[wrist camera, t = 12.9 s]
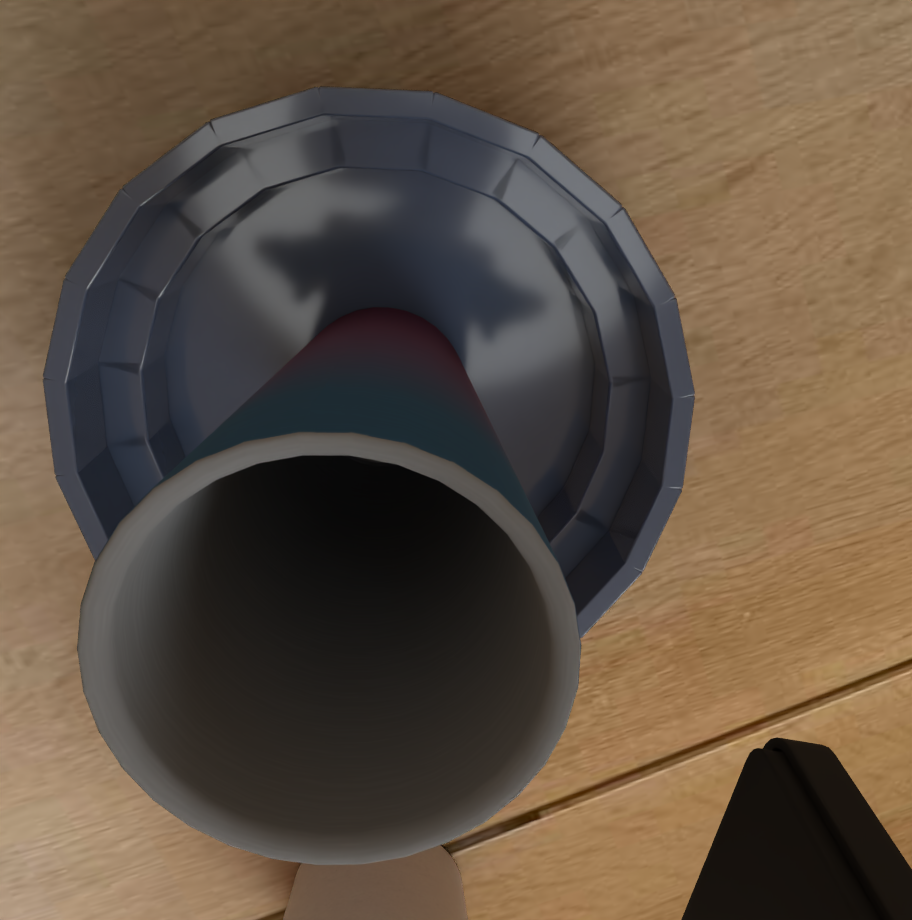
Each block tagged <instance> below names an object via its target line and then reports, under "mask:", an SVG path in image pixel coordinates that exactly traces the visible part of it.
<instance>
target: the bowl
mask: <svg viewBox="0 0 912 920" xmlns="http://www.w3.org/2000/svg"><path fill="white" fill-rule="evenodd" d="M372 307H390V308H395V309H400V310H404V311H408V312H410V313H413V314H415V315H417V316H420V317H422V318H424V319H425V320H426V321H428V322H429V323H431V324H432V325H434V326H435V327H437V328H438V330H439V331H440V332H441V333H442V334H443V335H444V336H445V337H446V338H447V339H448V340H449V342H450V343H451V345H452V346H453V348H454V349H455V351H456V352H457V354H458V356H459V358H460V360H461V362H462V365H463V367H464V369H465V371H466V373H467V375H468V377H469V379H470V381H471V383H472V385H473V387H474V389H475V391H476V393H477V395H478V397H479V399H480V402H481V404H482V406H483V408H484V410H485V412H486V414H487V416H488V418H489V420H490V422H491V424H492V426H493V428H494V430H495V432H496V434H497V436H498V439H499V441H500V443H501V445H502V447H503V449H504V451H505V453H506V455H507V457H508V459H509V461H510V463H511V465H512V467H513V469H514V471H515V473H516V476H517V478H518V480H519V482H520V484H521V486H522V488H523V490H524V492H525V494H526V496H527V498H528V500H529V502H530V504H531V506H532V508H533V510H534V513H535V515H536V517H537V519H538V521H539V523H540V525H541V527H542V529H543V531H544V533H545V535H546V537H547V539H548V541H549V543H550V545H551V547H552V550H553V552H554V554H555V556H556V558H557V560H558V562H559V564H560V567H561V570H562V572H563V575H564V577H565V580H566V582H567V585H568V587H569V590H570V592H571V595H572V598H573V600H574V603H575V608H576V615H577V622H578V628H579V635H580V638H582V637H583V636H584V635H585V634H586V633H587V632H588V631H589V630H590V629H591V628H592V627H593V626H594V624H595V623H596V622H597V621H598V620H599V619H600V618H601V617H602V616H603V615H604V614H605V613H606V612H607V610H608V609H609V608H610V607H611V606H612V605H613V604H614V603H615V602H616V601H617V600H618V599H619V598H620V597H621V595H622V594H623V593H624V592H625V591H626V590H627V589H628V588H629V587H630V586H631V585H632V584H633V583H634V582H635V580H636V579H637V578H638V577H639V576H640V575H641V574H642V572H643V571H644V569H645V567H646V565H647V562H648V560H649V558H650V556H651V554H652V552H653V550H654V548H655V546H656V544H657V542H658V540H659V538H660V535H661V533H662V531H663V529H664V527H665V525H666V523H667V521H668V519H669V517H670V515H671V513H672V510H673V508H674V506H675V504H676V502H677V500H678V498H679V496H680V494H681V492H682V488H683V482H684V475H685V467H686V460H687V452H688V445H689V437H690V430H691V422H692V415H693V407H694V400H695V396H694V394H695V391H694V386H693V380H692V375H691V370H690V365H689V360H688V355H687V350H686V345H685V339H684V334H683V329H682V324H681V319H680V314H679V309H678V304H677V299H676V298H675V294H674V292H673V291H672V289H671V287H670V285H669V284H668V282H667V280H666V279H665V277H664V275H663V273H662V272H661V270H660V268H659V266H658V265H657V263H656V261H655V260H654V258H653V256H652V254H651V253H650V251H649V249H648V247H647V246H646V244H645V242H644V240H643V239H642V237H641V235H640V234H639V232H638V230H637V228H636V227H635V225H634V223H633V221H632V220H631V218H630V216H629V215H628V213H627V211H626V209H625V208H624V207H622V205H621V203H620V202H619V201H617V200H616V199H615V198H614V197H613V196H612V195H610V194H609V193H608V192H607V191H606V190H605V189H603V188H602V187H601V186H600V185H599V184H598V183H597V182H595V181H594V180H593V179H592V178H591V177H590V176H588V175H587V174H586V173H585V172H584V171H583V170H582V169H580V168H579V167H578V166H577V165H576V164H575V163H573V162H572V161H571V160H570V159H569V158H568V157H567V156H565V155H564V154H563V153H562V152H561V151H560V150H558V149H557V148H556V147H555V146H554V145H553V144H552V143H550V142H549V141H548V140H547V139H546V138H545V137H543V136H542V135H539V134H538V133H537V132H535V131H533V130H530V129H528V128H525V127H523V126H520V125H518V124H515V123H513V122H510V121H508V120H505V119H503V118H500V117H498V116H495V115H493V114H490V113H488V112H485V111H482V110H480V109H477V108H475V107H472V106H470V105H467V104H465V103H462V102H460V101H457V100H455V99H452V98H450V97H447V96H445V95H442V94H440V93H437V92H434V93H433V92H432V91H421V90H398V89H374V88H351V87H328V86H320V87H314V88H310V89H307V90H304V91H301V92H297V93H294V94H291V95H288V96H285V97H281V98H278V99H275V100H272V101H268V102H265V103H262V104H259V105H256V106H252V107H249V108H246V109H243V110H239V111H236V112H233V113H230V114H227V115H223V116H220V117H217V118H214V119H211V120H210V122H206V123H205V124H203V125H202V126H201V127H199V128H198V129H197V130H195V131H194V132H193V133H191V134H190V135H189V136H188V137H186V138H185V139H184V140H182V141H181V142H180V143H178V144H177V145H176V146H174V147H173V148H172V149H171V150H169V151H168V152H167V153H165V154H164V155H163V156H161V157H160V158H159V159H157V160H156V161H155V162H153V163H152V164H151V165H150V166H148V167H147V168H146V169H144V170H143V171H142V172H140V173H139V174H138V175H136V176H135V177H134V178H132V179H131V180H130V181H129V182H127V183H126V184H125V185H123V187H122V188H121V189H120V190H119V191H118V193H117V194H116V196H115V198H114V199H113V201H112V202H111V204H110V205H109V207H108V209H107V210H106V212H105V213H104V215H103V216H102V218H101V220H100V221H99V223H98V224H97V226H96V228H95V229H94V231H93V232H92V234H91V235H90V237H89V239H88V240H87V242H86V243H85V245H84V247H83V248H82V250H81V251H80V253H79V254H78V256H77V258H76V259H75V261H74V262H73V264H72V265H71V267H70V269H69V270H68V272H67V273H66V275H65V279H64V280H63V285H62V289H61V294H60V299H59V303H58V308H57V313H56V317H55V322H54V326H53V331H52V336H51V340H50V345H49V350H48V354H47V359H46V363H45V368H44V373H43V377H44V379H43V384H44V392H45V400H46V408H47V416H48V424H49V432H50V440H51V448H52V456H53V464H54V472H55V475H56V480H57V482H58V484H59V486H60V488H61V490H62V492H63V494H64V497H65V499H66V501H67V503H68V505H69V507H70V509H71V511H72V513H73V515H74V518H75V520H76V522H77V524H78V526H79V528H80V530H81V532H82V534H83V536H84V539H85V541H86V543H87V545H88V547H89V549H90V551H91V553H92V555H93V557H94V560H95V561H96V559H97V557H98V556H99V554H100V552H101V551H102V549H103V548H104V546H105V544H106V543H107V541H108V539H109V538H110V536H111V535H112V533H113V531H114V530H115V528H116V526H117V525H118V523H119V522H120V521H121V520H122V519H123V518H124V517H125V516H126V515H127V514H128V513H129V512H130V511H131V510H132V509H133V508H134V507H135V505H136V504H137V503H138V502H139V501H140V500H141V499H142V498H143V497H144V496H145V495H146V494H147V493H148V492H149V491H150V490H151V489H152V488H153V487H154V486H155V485H156V484H157V483H159V482H160V481H161V480H162V479H163V478H164V477H165V476H166V475H167V474H168V473H169V472H170V471H172V470H173V469H174V468H175V467H176V466H177V465H178V464H179V463H180V462H181V461H182V460H183V459H184V458H186V457H187V456H188V455H189V454H190V453H191V452H192V451H193V450H194V449H195V448H196V447H197V446H198V445H200V444H201V443H202V442H203V441H204V440H205V439H206V438H207V437H208V436H209V435H210V434H211V433H212V432H214V431H215V430H216V429H217V428H218V427H219V426H220V425H221V424H222V423H223V422H224V421H225V420H226V419H228V418H229V417H230V416H231V415H232V414H233V413H234V412H235V411H236V410H237V409H238V408H239V407H240V406H242V405H243V404H244V403H245V402H246V401H247V400H248V399H249V398H250V397H251V396H252V395H253V394H254V393H256V392H257V391H258V390H259V389H260V388H261V387H262V386H263V385H264V384H265V383H266V382H267V381H268V380H270V379H271V378H272V377H273V376H274V375H275V374H276V373H277V372H278V371H279V370H280V369H281V368H282V367H284V366H285V365H286V364H287V363H288V362H289V361H290V360H291V359H292V358H293V357H294V356H295V355H296V354H298V353H299V352H300V351H301V350H302V349H303V348H304V347H305V346H306V345H307V344H308V343H309V342H310V341H312V340H313V339H314V338H315V337H316V336H317V335H318V334H319V333H320V332H321V331H322V330H323V329H324V328H326V327H327V326H328V325H329V324H331V323H332V322H334V321H335V320H337V319H338V318H340V317H342V316H344V315H346V314H349V313H351V312H354V311H356V310H361V309H367V308H372Z"/></svg>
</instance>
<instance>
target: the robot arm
mask: <svg viewBox="0 0 912 920" xmlns="http://www.w3.org/2000/svg"><path fill="white" fill-rule="evenodd" d="M682 920H912V869H911V868H910V866H909V865H908V863H907V862H906V860H905V859H904V857H903V856H902V854H901V853H900V851H899V850H898V848H897V847H896V845H895V844H894V842H893V841H892V839H891V838H890V836H889V835H888V833H887V832H886V830H885V829H884V827H883V826H882V824H881V823H880V821H879V820H878V818H877V817H876V815H875V814H874V812H873V811H872V809H871V808H870V806H869V805H868V803H867V802H866V800H865V799H864V797H863V796H862V794H861V793H860V791H859V790H858V788H857V787H856V785H855V784H854V782H853V781H852V779H851V778H850V776H849V775H848V773H847V772H846V770H845V769H844V767H843V766H842V764H841V763H840V761H839V760H838V758H837V757H836V755H835V754H834V753H833V752H832V751H831V749H830V748H829V747H826V746H824V745H820V744H814V743H807V742H801V741H795V740H789V739H783V738H773V739H770V740H769V741H768V742H767V743H766V744H765V746H764V748H763V749H760V748H757V749H754V750H753V751H752V752H751V753H750V754H749V756H748V758H747V760H746V762H745V765H744V767H743V770H742V772H741V774H740V777H739V779H738V782H737V784H736V787H735V789H734V792H733V794H732V797H731V799H730V802H729V804H728V806H727V809H726V811H725V814H724V816H723V819H722V821H721V824H720V826H719V829H718V831H717V834H716V836H715V838H714V841H713V843H712V846H711V848H710V851H709V853H708V856H707V858H706V861H705V863H704V866H703V868H702V870H701V873H700V875H699V878H698V880H697V883H696V885H695V888H694V890H693V893H692V895H691V898H690V900H689V903H688V905H687V907H686V910H685V912H684V915H683V917H682Z"/></svg>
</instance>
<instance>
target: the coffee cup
mask: <svg viewBox="0 0 912 920" xmlns="http://www.w3.org/2000/svg"><path fill="white" fill-rule="evenodd" d="M283 920H468V917H467V910H466V904H465V898H464V891H463V885H462V879H461V875H460V872H459V869H458V867H457V865H456V863H455V862H454V860H453V858H452V857H451V856H450V854H449V853H448V852H447V851H446V850H445V849H444V848H443V847H442V846H441V845H439V846H436V847H433V848H430V849H427V850H424V851H421V852H419V853H416V854H413V855H410V856H407V857H402V858H396V859H391V860H385V861H379V862H373V863H367V864H356V865H313V864H306V863H301V865H300V866H299V869H298V871H297V874H296V877H295V880H294V883H293V887H292V890H291V894H290V897H289V901H288V904H287V908H286V911H285V915H284V918H283Z"/></svg>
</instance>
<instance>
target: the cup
mask: <svg viewBox="0 0 912 920" xmlns="http://www.w3.org/2000/svg"><path fill="white" fill-rule="evenodd" d="M77 651H78V658H79V665H80V672H81V678H82V685H83V692H84V694H85V697H86V699H87V702H88V705H89V707H90V710H91V712H92V715H93V718H94V720H95V723H96V725H97V728H98V731H99V733H100V734H101V736H102V737H103V739H104V740H105V742H106V743H107V745H108V747H109V748H110V750H111V751H112V753H113V754H114V756H115V757H116V759H117V760H118V762H119V763H120V765H121V767H122V768H123V769H124V770H125V771H126V772H127V773H128V774H129V775H130V776H131V778H132V779H133V780H134V781H135V782H136V783H137V784H138V785H139V786H140V787H141V788H142V789H143V790H144V791H145V792H146V793H147V794H148V795H149V796H150V797H151V798H152V799H153V800H154V801H155V802H157V803H158V804H159V805H161V806H162V807H164V808H165V809H166V810H168V811H169V812H170V813H172V814H173V815H175V816H176V817H177V818H179V819H180V820H182V821H183V822H184V823H186V824H187V825H189V826H190V827H192V828H194V829H196V830H198V831H200V832H202V833H205V834H207V835H209V836H211V837H213V838H215V839H217V840H219V841H221V842H223V843H225V844H227V845H229V846H232V847H235V848H239V849H242V850H245V851H249V852H252V853H255V854H258V855H262V856H265V857H268V858H272V859H278V860H285V861H292V862H299V863H306V864H313V865H356V864H367V863H373V862H379V861H385V860H391V859H396V858H402V857H407V856H410V855H413V854H416V853H419V852H421V851H424V850H427V849H430V848H433V847H436V846H439V845H442V844H445V843H447V842H449V841H451V840H453V839H455V838H457V837H459V836H460V835H462V834H464V833H466V832H468V831H470V830H472V829H473V828H475V827H477V826H479V825H481V824H483V823H485V822H486V821H487V820H488V819H490V818H491V817H492V816H493V815H495V814H496V813H497V812H498V811H500V810H501V809H502V808H503V807H505V806H506V805H507V804H508V803H510V802H511V801H512V800H514V799H515V798H516V797H517V796H518V795H519V794H520V793H521V792H522V791H523V790H524V788H525V787H526V786H527V785H528V784H529V783H530V781H531V780H532V779H533V778H534V777H535V776H536V775H537V773H538V772H539V771H540V770H541V769H542V768H543V766H544V765H545V764H546V762H547V760H548V759H549V757H550V755H551V753H552V751H553V750H554V748H555V746H556V744H557V742H558V741H559V739H560V737H561V735H562V734H563V732H564V730H565V728H566V725H567V722H568V719H569V715H570V712H571V709H572V706H573V702H574V699H575V696H576V692H577V689H578V681H579V668H580V655H581V641H580V635H579V628H578V622H577V615H576V608H575V603H574V600H573V598H572V595H571V592H570V590H569V587H568V585H567V582H566V580H565V577H564V575H563V572H562V570H561V567H560V564H559V562H558V560H557V558H556V556H555V554H554V552H553V550H552V547H551V545H550V543H549V541H548V539H547V537H546V535H545V533H544V531H543V529H542V527H541V525H540V523H539V521H538V519H537V517H536V515H535V513H534V510H533V508H532V506H531V504H530V502H529V500H528V498H527V496H526V494H525V492H524V490H523V488H522V486H521V484H520V482H519V480H518V478H517V476H516V473H515V471H514V469H513V467H512V465H511V463H510V461H509V459H508V457H507V455H506V453H505V451H504V449H503V447H502V445H501V443H500V441H499V439H498V436H497V434H496V432H495V430H494V428H493V426H492V424H491V422H490V420H489V418H488V416H487V414H486V412H485V410H484V408H483V406H482V404H481V402H480V399H479V397H478V395H477V393H476V391H475V389H474V387H473V385H472V383H471V381H470V379H469V377H468V375H467V373H466V371H465V369H464V367H463V365H462V362H461V360H460V358H459V356H458V354H457V352H456V351H455V349H454V348H453V346H452V345H451V343H450V342H449V340H448V339H447V338H446V337H445V336H444V335H443V334H442V333H441V332H440V331H439V330H438V328H437V327H435V326H434V325H432V324H431V323H429V322H428V321H426V320H425V319H424V318H422V317H420V316H417V315H415V314H413V313H410V312H408V311H404V310H400V309H395V308H390V307H372V308H367V309H361V310H356V311H354V312H351V313H349V314H346V315H344V316H342V317H340V318H338V319H337V320H335V321H334V322H332V323H331V324H329V325H328V326H327V327H326V328H324V329H323V330H322V331H321V332H320V333H319V334H318V335H317V336H316V337H315V338H314V339H313V340H312V341H310V342H309V343H308V344H307V345H306V346H305V347H304V348H303V349H302V350H301V351H300V352H299V353H298V354H296V355H295V356H294V357H293V358H292V359H291V360H290V361H289V362H288V363H287V364H286V365H285V366H284V367H282V368H281V369H280V370H279V371H278V372H277V373H276V374H275V375H274V376H273V377H272V378H271V379H270V380H268V381H267V382H266V383H265V384H264V385H263V386H262V387H261V388H260V389H259V390H258V391H257V392H256V393H254V394H253V395H252V396H251V397H250V398H249V399H248V400H247V401H246V402H245V403H244V404H243V405H242V406H240V407H239V408H238V409H237V410H236V411H235V412H234V413H233V414H232V415H231V416H230V417H229V418H228V419H226V420H225V421H224V422H223V423H222V424H221V425H220V426H219V427H218V428H217V429H216V430H215V431H214V432H212V433H211V434H210V435H209V436H208V437H207V438H206V439H205V440H204V441H203V442H202V443H201V444H200V445H198V446H197V447H196V448H195V449H194V450H193V451H192V452H191V453H190V454H189V455H188V456H187V457H186V458H184V459H183V460H182V461H181V462H180V463H179V464H178V465H177V466H176V467H175V468H174V469H173V470H172V471H170V472H169V473H168V474H167V475H166V476H165V477H164V478H163V479H162V480H161V481H160V482H159V483H157V484H156V485H155V486H154V487H153V488H152V489H151V490H150V491H149V492H148V493H147V494H146V495H145V496H144V497H143V498H142V499H141V500H140V501H139V502H138V503H137V504H136V505H135V507H134V508H133V509H132V510H131V511H130V512H129V513H128V514H127V515H126V516H125V517H124V518H123V519H122V520H121V521H120V522H119V523H118V525H117V526H116V528H115V530H114V531H113V533H112V535H111V536H110V538H109V539H108V541H107V543H106V544H105V546H104V548H103V549H102V551H101V552H100V554H99V556H98V557H97V559H96V561H95V563H94V566H93V569H92V572H91V575H90V578H89V581H88V584H87V587H86V590H85V593H84V596H83V599H82V602H81V608H80V620H79V632H78V644H77Z"/></svg>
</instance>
